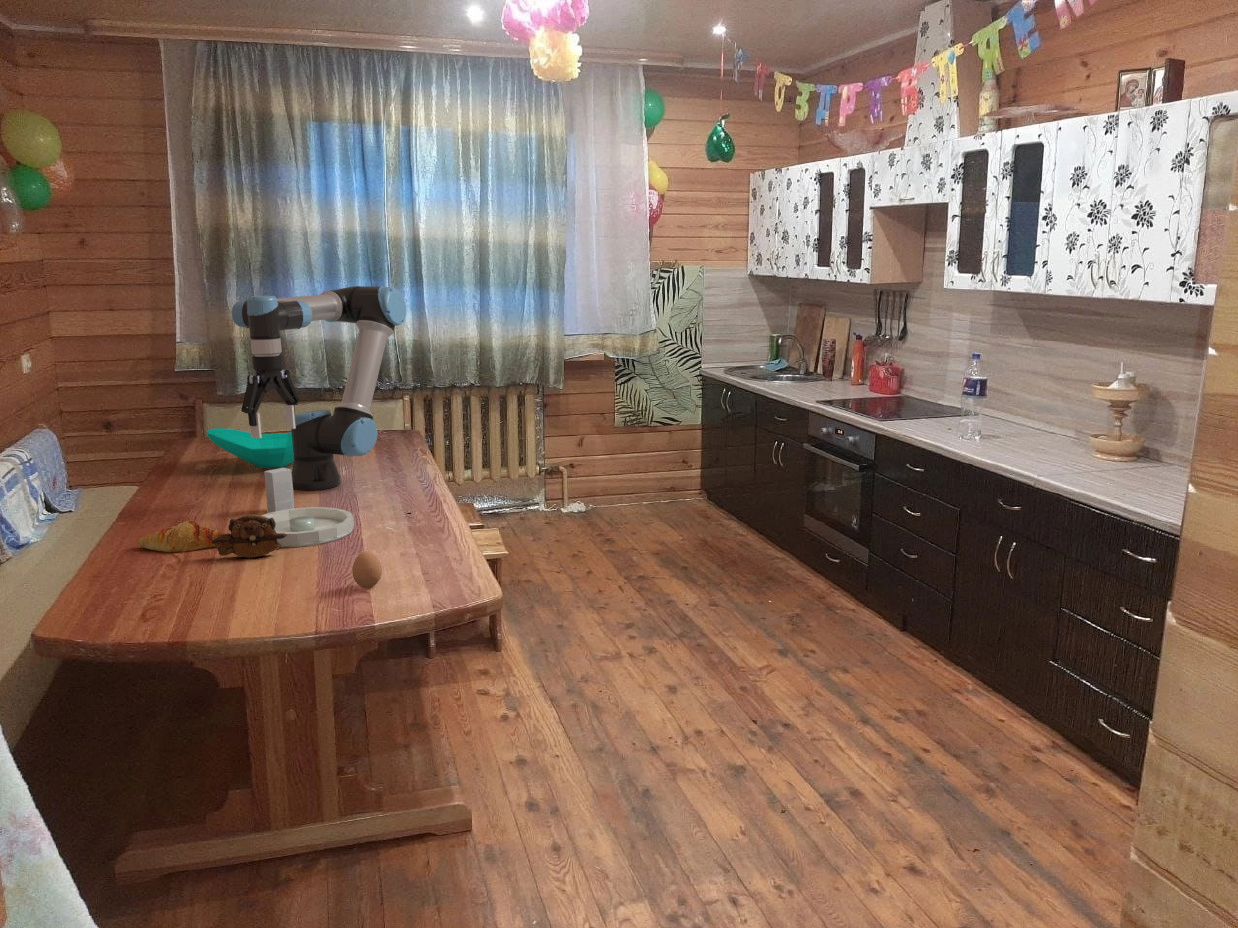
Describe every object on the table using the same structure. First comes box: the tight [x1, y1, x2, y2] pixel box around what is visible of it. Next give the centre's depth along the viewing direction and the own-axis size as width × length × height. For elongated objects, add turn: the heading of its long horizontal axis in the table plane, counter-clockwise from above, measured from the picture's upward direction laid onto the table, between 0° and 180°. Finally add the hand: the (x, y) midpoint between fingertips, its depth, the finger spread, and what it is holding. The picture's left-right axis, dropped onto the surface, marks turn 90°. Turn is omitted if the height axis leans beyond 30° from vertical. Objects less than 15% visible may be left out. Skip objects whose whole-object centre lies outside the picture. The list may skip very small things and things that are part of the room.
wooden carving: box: [212, 513, 287, 559], centre depth 218 cm, size 16×5×10 cm, turn 105°
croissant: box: [137, 520, 230, 553], centre depth 226 cm, size 21×10×8 cm, turn 99°
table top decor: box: [205, 427, 294, 469], centre depth 314 cm, size 40×28×13 cm
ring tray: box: [260, 506, 355, 549], centre depth 238 cm, size 25×25×4 cm
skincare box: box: [263, 467, 295, 513], centre depth 257 cm, size 6×4×12 cm
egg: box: [351, 551, 382, 589], centre depth 198 cm, size 6×6×8 cm
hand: (274, 433), depth 253 cm, fingers open, 13 cm apart
